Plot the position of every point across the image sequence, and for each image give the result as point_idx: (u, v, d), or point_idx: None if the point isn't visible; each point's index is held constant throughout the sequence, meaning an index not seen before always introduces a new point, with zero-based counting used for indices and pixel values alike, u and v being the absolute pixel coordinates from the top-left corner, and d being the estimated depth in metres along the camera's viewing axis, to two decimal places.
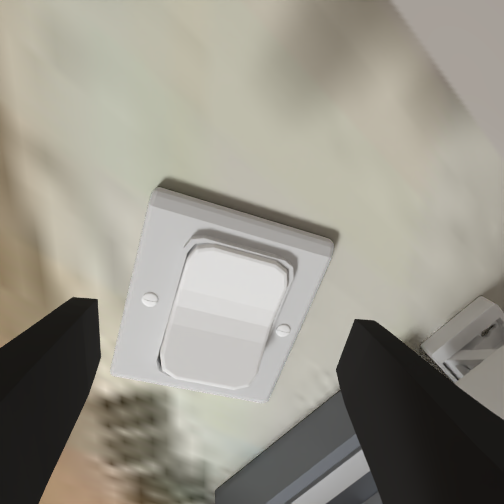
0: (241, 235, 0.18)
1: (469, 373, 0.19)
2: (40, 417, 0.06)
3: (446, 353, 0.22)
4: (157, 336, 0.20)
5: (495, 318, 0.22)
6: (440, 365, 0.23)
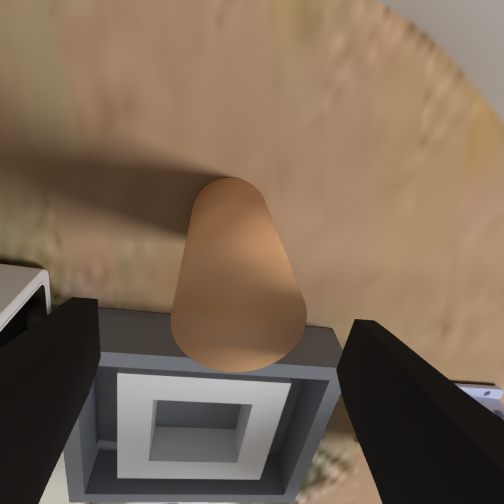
0: None
1: None
2: (40, 417, 0.06)
3: None
4: None
5: None
6: None
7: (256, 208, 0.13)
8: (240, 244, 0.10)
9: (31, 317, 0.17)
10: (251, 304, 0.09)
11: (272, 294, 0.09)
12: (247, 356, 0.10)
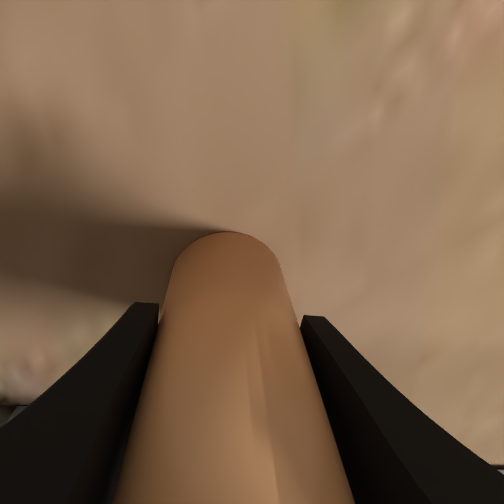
0: None
1: None
2: (125, 419, 0.06)
3: None
4: None
5: None
6: None
7: (268, 309, 0.08)
8: (238, 488, 0.04)
9: None
10: None
11: None
12: None
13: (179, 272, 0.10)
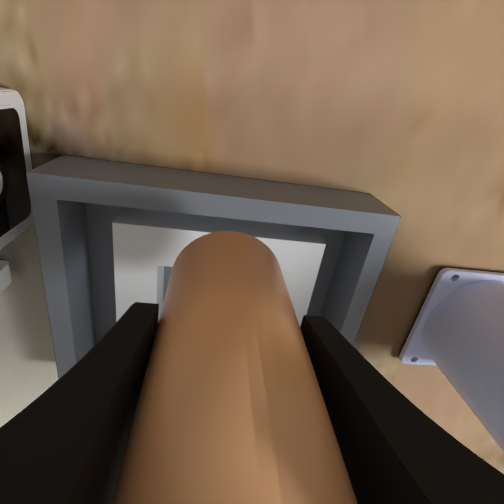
0: None
1: None
2: (125, 419, 0.06)
3: None
4: None
5: None
6: None
7: (269, 307, 0.08)
8: (239, 484, 0.04)
9: (1, 142, 0.13)
10: None
11: None
12: None
13: (179, 271, 0.10)
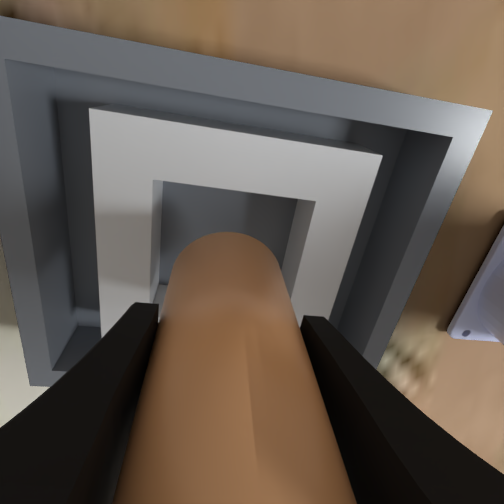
0: None
1: None
2: (125, 419, 0.06)
3: None
4: None
5: None
6: None
7: (268, 308, 0.08)
8: (239, 486, 0.04)
9: None
10: None
11: None
12: None
13: (179, 272, 0.10)
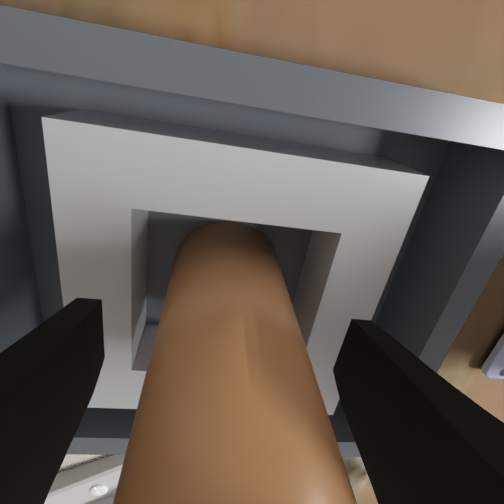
0: None
1: None
2: (46, 417, 0.06)
3: None
4: None
5: None
6: None
7: (264, 285, 0.09)
8: (236, 416, 0.05)
9: None
10: None
11: None
12: None
13: (182, 256, 0.11)
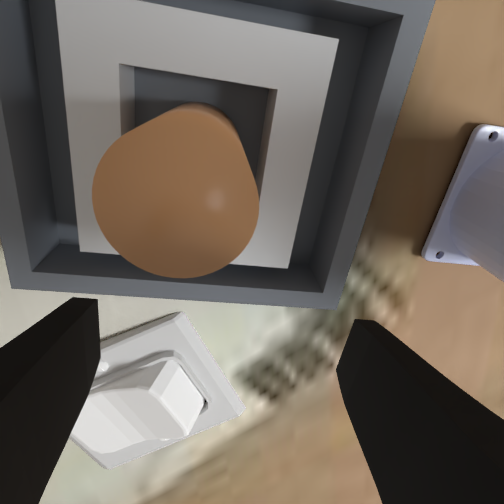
0: (72, 433, 0.24)
1: None
2: (40, 417, 0.06)
3: None
4: None
5: None
6: None
7: (215, 114, 0.12)
8: (177, 116, 0.08)
9: None
10: (188, 182, 0.08)
11: (213, 166, 0.08)
12: (193, 256, 0.09)
13: None
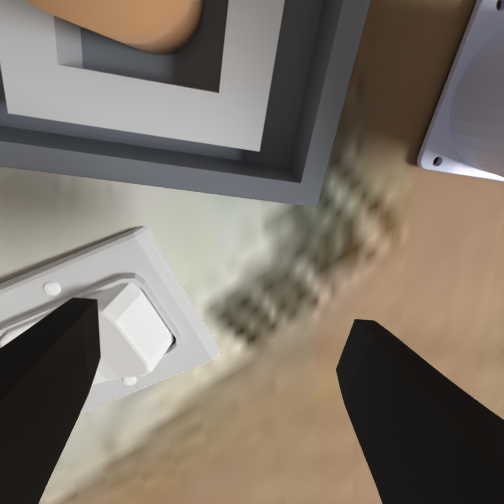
0: None
1: None
2: (40, 417, 0.06)
3: None
4: None
5: None
6: None
7: None
8: None
9: None
10: None
11: None
12: None
13: None
